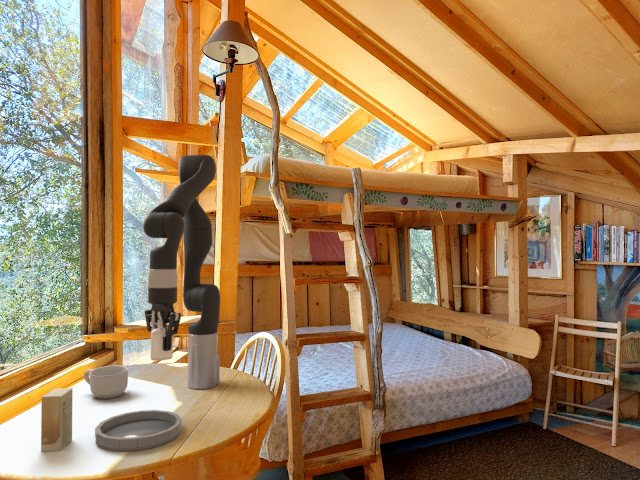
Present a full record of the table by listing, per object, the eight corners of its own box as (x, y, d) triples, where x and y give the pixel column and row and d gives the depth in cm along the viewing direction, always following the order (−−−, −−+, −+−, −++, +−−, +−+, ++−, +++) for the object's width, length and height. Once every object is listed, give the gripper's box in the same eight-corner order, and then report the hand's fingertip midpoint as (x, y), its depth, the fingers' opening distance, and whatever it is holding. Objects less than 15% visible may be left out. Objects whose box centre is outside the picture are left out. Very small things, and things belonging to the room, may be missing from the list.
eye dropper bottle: (168, 361, 126) (169, 315, 127) (147, 360, 127) (148, 315, 127) (174, 357, 130) (175, 313, 131) (154, 357, 131) (155, 313, 131)
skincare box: (53, 440, 111) (54, 387, 111) (72, 440, 111) (73, 387, 111) (39, 452, 104) (40, 396, 105) (60, 451, 105) (61, 395, 105)
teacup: (135, 393, 147) (135, 367, 148) (106, 403, 138) (107, 375, 138) (103, 387, 153) (103, 362, 153) (73, 397, 143) (73, 370, 144)
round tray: (152, 415, 127) (152, 405, 127) (196, 432, 116) (196, 421, 116) (80, 437, 112) (80, 425, 112) (123, 459, 101) (123, 446, 101)
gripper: (190, 286, 128) (189, 350, 127) (160, 284, 137) (158, 344, 136) (166, 287, 122) (165, 355, 121) (135, 285, 131) (134, 348, 130)
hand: (161, 349), depth 129 cm, fingers closed on eye dropper bottle, 4 cm apart
